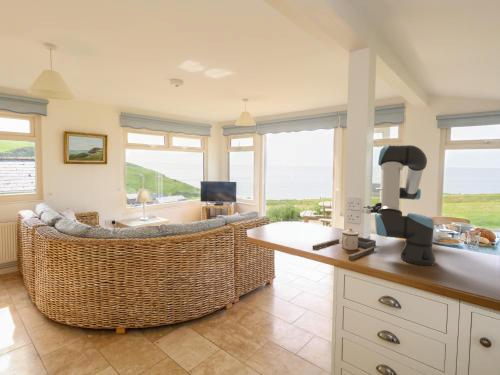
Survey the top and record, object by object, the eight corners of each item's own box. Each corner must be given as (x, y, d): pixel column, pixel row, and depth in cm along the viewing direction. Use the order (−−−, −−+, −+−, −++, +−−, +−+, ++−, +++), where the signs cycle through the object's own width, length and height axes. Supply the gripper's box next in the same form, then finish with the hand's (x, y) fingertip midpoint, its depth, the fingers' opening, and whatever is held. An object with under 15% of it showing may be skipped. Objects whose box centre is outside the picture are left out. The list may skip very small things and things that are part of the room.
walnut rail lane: (374, 251, 158) (374, 247, 158) (351, 260, 141) (351, 256, 141) (336, 241, 176) (336, 238, 175) (312, 249, 159) (312, 245, 159)
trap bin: (375, 245, 170) (375, 240, 169) (366, 248, 162) (367, 243, 162) (353, 240, 180) (354, 235, 180) (344, 243, 173) (344, 238, 172)
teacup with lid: (345, 244, 170) (346, 225, 169) (360, 248, 163) (361, 228, 162) (336, 248, 161) (337, 228, 160) (351, 252, 155) (352, 231, 154)
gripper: (393, 215, 182) (377, 219, 167) (370, 211, 194) (352, 215, 178) (394, 203, 182) (378, 206, 166) (370, 201, 193) (353, 203, 178)
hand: (365, 211), depth 172 cm, fingers open, 3 cm apart
